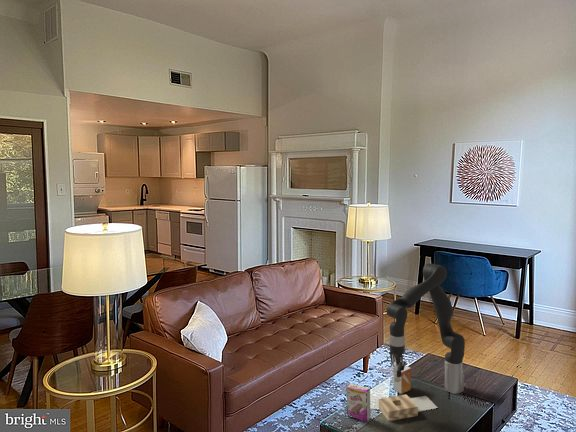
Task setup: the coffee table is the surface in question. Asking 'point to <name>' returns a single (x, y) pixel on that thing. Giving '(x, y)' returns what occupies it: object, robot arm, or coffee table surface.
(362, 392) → the candy bar box
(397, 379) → the peg
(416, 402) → the mat
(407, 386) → the small box
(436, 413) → the coffee table surface
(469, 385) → the coffee table surface
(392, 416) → the hole block
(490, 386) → the coffee table surface
